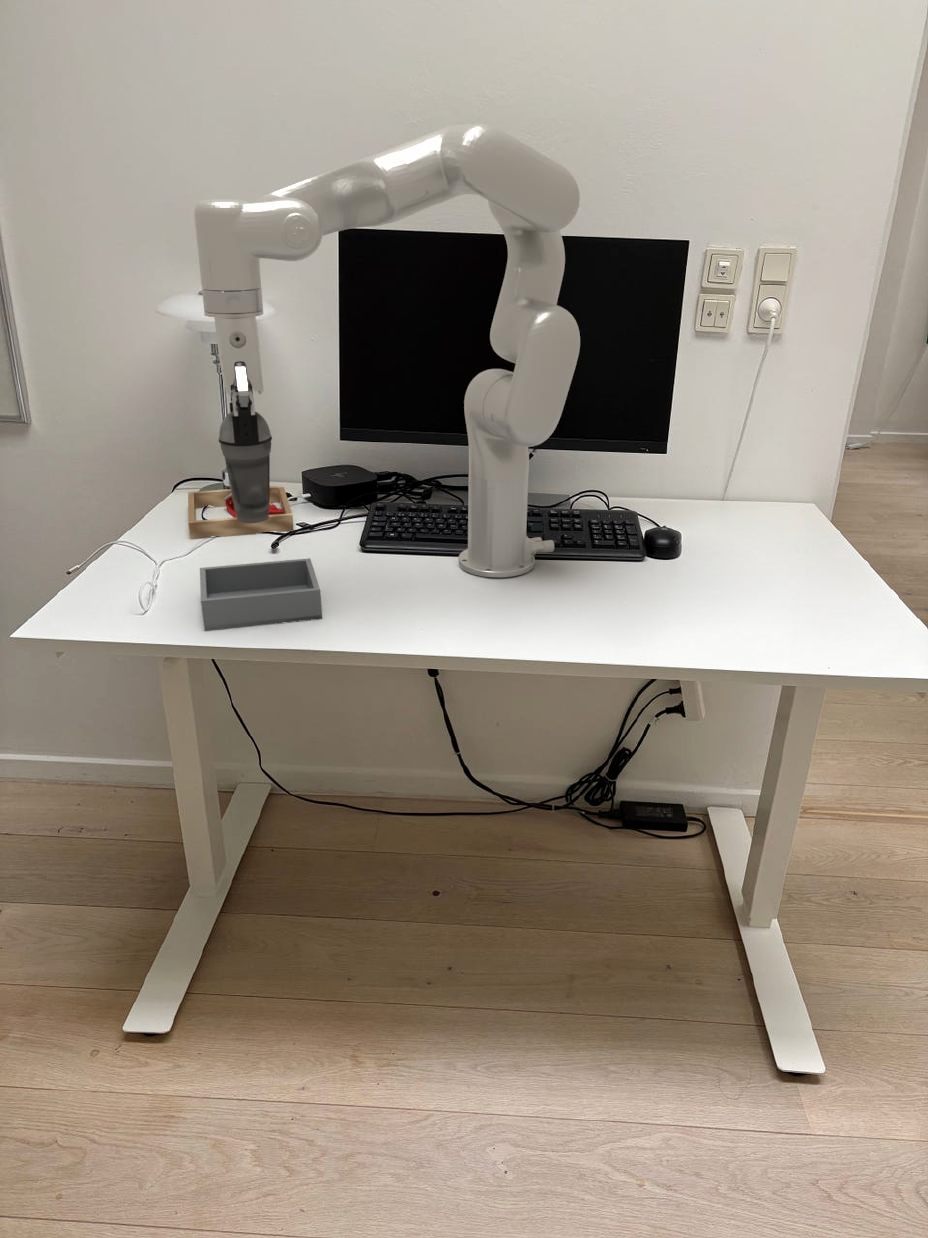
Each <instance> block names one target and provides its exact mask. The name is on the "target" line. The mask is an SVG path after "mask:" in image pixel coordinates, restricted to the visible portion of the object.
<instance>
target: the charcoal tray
mask: <svg viewBox="0 0 928 1238" xmlns="http://www.w3.org/2000/svg"><path fill="white" fill-rule="evenodd" d="M311 560H312V559H311V558H298V559H286V560H276V561H265V562H264V561H263V562H252V563H251V562H250V563H242V564H241V563H240V564H230V565H229V564H228V565H218V566H217V565H216V566H208V567H207V566H206V567H199V582H200V583H199V584H200V605H201V612H202V621H203V629H204V632H207V631H216V630H225V629H234V628H236V629H237V628H247V627H255V626H256V627H257V626H266V625H274V624H275V623H277V624H284V623H283V622H287V623H292V622H291V621H296V622H300V621H299V620H306V621H312V620H311V619H316V620H322V619H323V612H322V611H323V610H322V596H321V588H320V585H319V581H318V579H317V575H316V573H315V568H314V565H313V563H312V561H311Z"/></svg>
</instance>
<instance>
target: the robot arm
mask: <svg viewBox="0 0 928 1238" xmlns="http://www.w3.org/2000/svg"><path fill="white" fill-rule="evenodd" d="M463 195H475V196H476V195H477V196H480V197H481V198H484V199H485V200H487V203H488V206H489V210H490V213H491V214H492V216H493V218H494V219H495V220H496V222H497V224H498V225H499V227H500V228H501V231H502V233H503V235H504V238H505V241H506V245H507V246H506V247H507V262H506V266H505V273H504V277H503V281H502V286H501V288H500V292H499V296H498V299H497V304H496V307H495V311H494V315H493V319H492V322H491V327H490V332H489V341H490V345H491V347H492V350H493V352H495V353H496V355H498V356H499V357H500V358H501V359H504V360H506V361H508V362H510V363H514V364H515V365H514V369H513V371H509V370H507V369H503V368H491V369H490V368H489V369H486V370H483V371H481V372H479V373H478V374H477V375H475V377H473V378H472V380H471V381H470V382H469V384H468V386H467V389H466V390H465V394H464V400H463V404H464V406H463V408H464V409H463V410H464V419H465V424H466V425H465V426H466V432H467V440H468V443H467V444H468V502H467V503H468V506H467V507H468V511H467V512H468V513H467V514H468V515H467V517H468V518H467V519H468V521H467V522H468V523H467V548H466V549H464V550H463V551H461V552H460V553H459V555H458V565H459V567H460V568H461V569H462V570H464V571H465V572H467V573H470V574H472V575H475V576H480V577H485V578H501V579H502V578H511V577H517V576H520V575H523V574H526V573H529V572H530V571H531V570H533V568H534V567H535V560H536V559H535V555H537V553H550V552H551V553H552V552H554V551H555V543H554V540H553V539H549V540H543V538H542V537H541V536H540V537H539V536H538V537H531V538H529V537H528V535H527V524H528V523H527V518H528V497H529V495H528V492H529V474H530V473H529V471H530V455H529V448H530V447H535V446H539V445H541V444H542V443H544V442H546V441H547V440H548V439H549V438H550V436H552V434H553V433H554V431H555V430H556V428H557V425H558V424H559V421H560V419H561V417H562V413H563V411H564V407H565V404H566V401H567V397H568V393H569V391H570V387H571V384H572V381H573V376H574V373H575V370H576V366H577V364H578V363H577V362H578V358H579V355H580V351H581V350H580V348H581V336H580V329H579V326H578V323H577V321H576V319H575V317H574V316H573V315H572V314H571V312H569V311H568V310H567V309H565V308H564V307H562V306H560V305H558V301H559V300H558V298H559V295H560V291H561V287H562V282H563V279H564V278H563V277H564V273H565V264H566V254H565V253H566V251H565V245H564V241H563V236H562V234H561V230H563V229H564V228H566V227H567V226H569V224H570V223H572V221H573V220H574V219H575V218H576V215H577V213H578V212H579V211H578V210H579V207H580V200H581V198H580V195H581V194H580V190H579V185H578V183H577V180H576V178H575V177H574V175H573V174H572V173H571V172H570V170H568V169H567V168H566V167H564V166H563V165H562V164H560V163H559V162H557V161H555V160H554V159H552V158H551V157H548V156H547V155H546V154H544V153H542V152H539V151H538V150H536V149H534V148H533V147H531V146H529V144H526V143H525V142H523V141H521V140H520V139H518V138H516V137H514V136H513V135H512V134H509V133H507V131H504V130H502V129H500V128H498V127H496V126H494V125H492V124H488V123H482V122H481V123H465V124H455V125H449V126H446V127H442V128H440V129H438V130H435V131H433V132H430V133H427V134H424V135H422V136H419V137H418V138H414V139H412V140H409V141H407V142H404V143H402V144H399V145H397V146H394V147H391V148H389V149H386V150H384V151H381V152H379V153H375V154H372V155H370V156H367V157H364V158H362V159H361V158H360V159H358V160H355V161H353V162H350V163H347V164H346V165H343V166H341V167H338V168H336V169H333V170H329V171H326V172H324V173H321V174H317V175H316V176H315V175H314V176H311V177H309V178H306V179H303V180H300V181H298V182H296V183H293V184H290V185H288V186H285V187H282V188H280V189H278V190H275V191H272V192H270V193H267V194H264V195H263V196H260V197H259V198H257V199H256V200H255V201H254V202H249V201H248V200H245V199H237V198H236V199H235V198H214V199H213V198H212V199H203V200H200V201H198V202H197V203H196V205H195V208H194V212H193V213H194V224H195V225H194V226H195V234H196V243H197V244H196V246H197V252H198V263H199V273H200V275H199V276H200V284H201V292H202V294H201V295H202V303H203V313H204V316H205V317H208V318H214V327H215V335H216V337H215V338H216V343H217V344H216V345H217V346H216V347H217V352H218V359H219V365H220V371H221V375H222V381H223V385H224V389H225V392H226V394H227V395H229V396H230V402H229V413H231V412H232V411H234V416H232V422H233V432H234V442H235V445H236V446H248V445H258V444H259V435H258V424H257V414H255V412H256V410H255V409H256V407H255V402H254V401H255V400H254V399H255V398H254V392H258V395H261V394H263V392H264V382H263V371H262V362H261V348H260V340H259V339H260V337H259V329H258V325H257V319H256V317H261V316H262V315H264V305H263V304H264V302H263V294H262V293H263V290H262V289H263V288H262V279H261V265H260V259H265V260H266V259H269V260H277V261H285V262H297V261H298V262H299V261H302V260H305V259H307V258H309V257H311V256H312V255H313V254H314V253H315V252H316V251H317V250H318V248H319V247H320V245H321V243H322V239H323V237H324V236H328V235H330V234H333V233H336V232H337V233H338V232H341V231H344V230H350V229H355V228H356V229H357V228H368V227H369V228H370V227H378V226H383V225H388V224H392V223H395V222H398V221H400V220H403V219H405V218H407V217H410V216H412V215H415V214H416V213H418V212H421V211H423V210H426V209H428V208H430V207H434V206H436V205H439V204H442V203H444V202H446V201H449V200H451V199H454V198H456V197H461V196H463ZM233 382H234V383H233ZM234 389H236V392H234ZM253 390H254V391H253ZM236 398H238V399H237V401H236ZM237 407H238V410H237Z"/></svg>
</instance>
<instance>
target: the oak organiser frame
mask: <svg viewBox="0 0 928 1238" xmlns="http://www.w3.org/2000/svg"><path fill="white" fill-rule="evenodd" d="M230 494H231V488H230V489H215V490H199V491H188V492H187V503H188V509H187V510H188V519H187V520H188V529H189V538H190V540H198V538H199V539H207V538H206V537H211V536H224V537H234V536H235V535H236V536H247V535H248V534H249V535H257V534H256V533H261V534H263V533H262V532H268V531H286V532H293V531H292V530H294V518H293V511H292V509H291V506H290V502H289V500H288V496H287V493H286V490H285V486H284V485H271V486H270V502H276V503H279V504H281V505H280V507H282V508H281V510H283V514H276V515H269V518H268V519H267V520H266V521H263V522H259V523H242V522H239V521H238V520H237V518H235V517H227V518H226V517H225V518H213V519H210V518H209V519H201V520H197V518H196V517H197V516H196V509H203V508H202V507H205V506H207V505H211V506H221V507H226V501H223V499H224V498H225V497H227V496H228V495H230ZM230 504H231V503H230ZM294 531H295V530H294ZM211 538H212V537H211Z"/></svg>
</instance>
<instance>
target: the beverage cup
mask: <svg viewBox="0 0 928 1238" xmlns="http://www.w3.org/2000/svg"><path fill="white" fill-rule="evenodd" d="M233 383H234V382H233ZM234 392H236V389H234ZM237 399H238V398H236V401H237ZM237 410H238V407H237ZM255 414H257V424H258V435H259V444H258V445H248V446H236V445H235V442H234V432H233V422H232V416H234V411H232V412H231V413H230V412H229V413H228V414H227V415H226V416H225V417H224V419H223V420H222V421H221V423H220V427H219V433H218V434H219V435H218V443H219V444H220V450H221V451H222V455H223V457H224V460H225V466H226V471H227V477H228V482H229V486H230V487H229V488H230V489H231V493H232V498H233V503H234V508H235V511H236V515H237V520H238V521H239V522H242V523H259V522H263V521H266V520H267V519H268V518H269V507H270V485H271V484H270V483H271V481H270V475H271V474H270V471H271V470H270V469H271V467H270V466H271V465H270V463H271V462H270V458H271V457H270V454H271V450H272V440H273V436H272V433H271V430H270V427H269V424H268V423H267V420H266V419H265V418H264V417H263V415H261V413H259V412H258V411H255Z"/></svg>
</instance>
